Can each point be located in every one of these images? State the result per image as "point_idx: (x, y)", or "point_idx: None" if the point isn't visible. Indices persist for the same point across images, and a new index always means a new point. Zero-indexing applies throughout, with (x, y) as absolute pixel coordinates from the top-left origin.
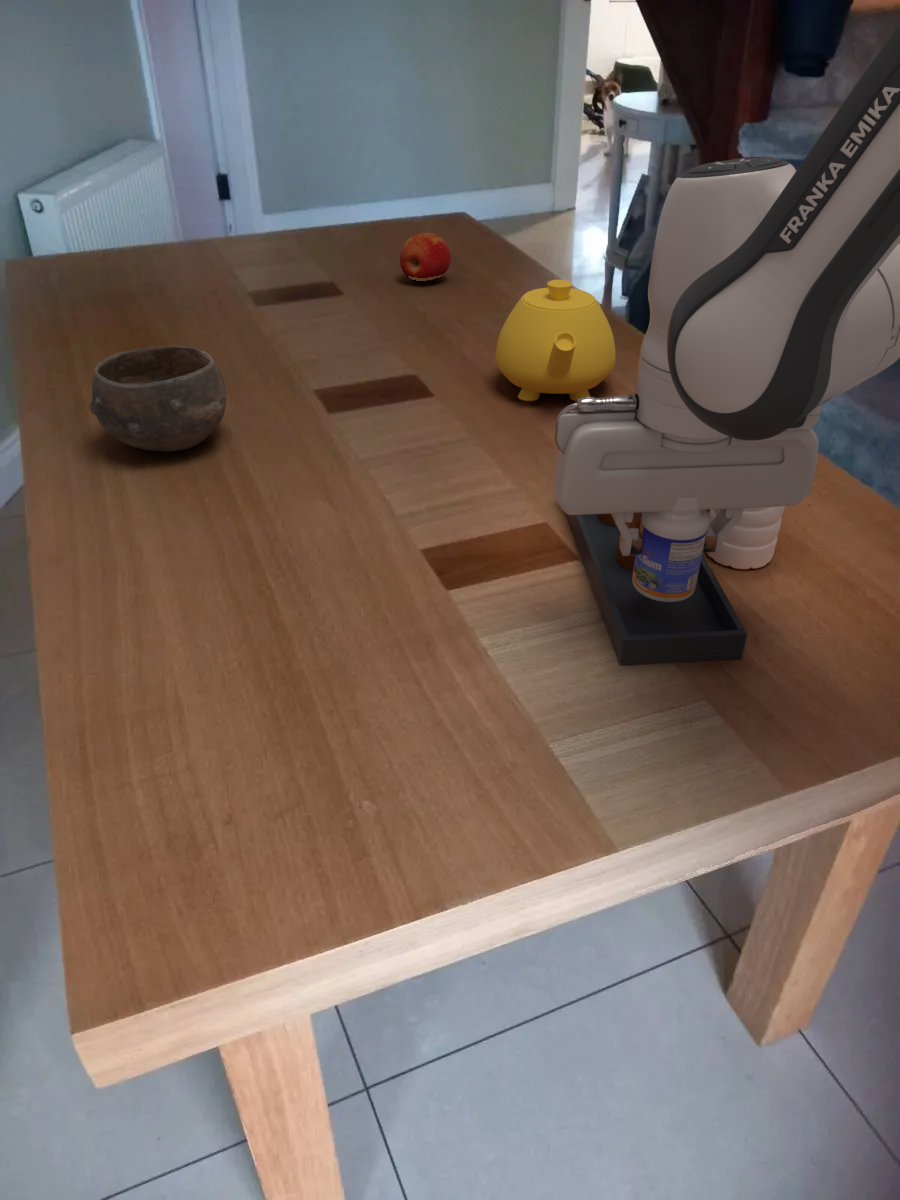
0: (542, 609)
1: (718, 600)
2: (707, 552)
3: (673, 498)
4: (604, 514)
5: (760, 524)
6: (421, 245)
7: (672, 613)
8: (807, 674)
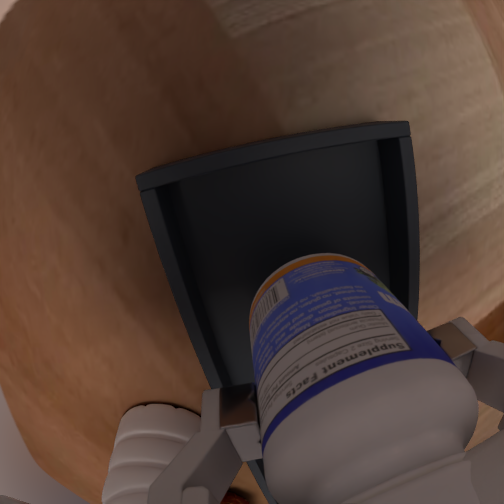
0: (464, 259)
1: (194, 301)
2: None
3: (495, 497)
4: None
5: (132, 467)
6: None
7: None
8: (50, 152)
